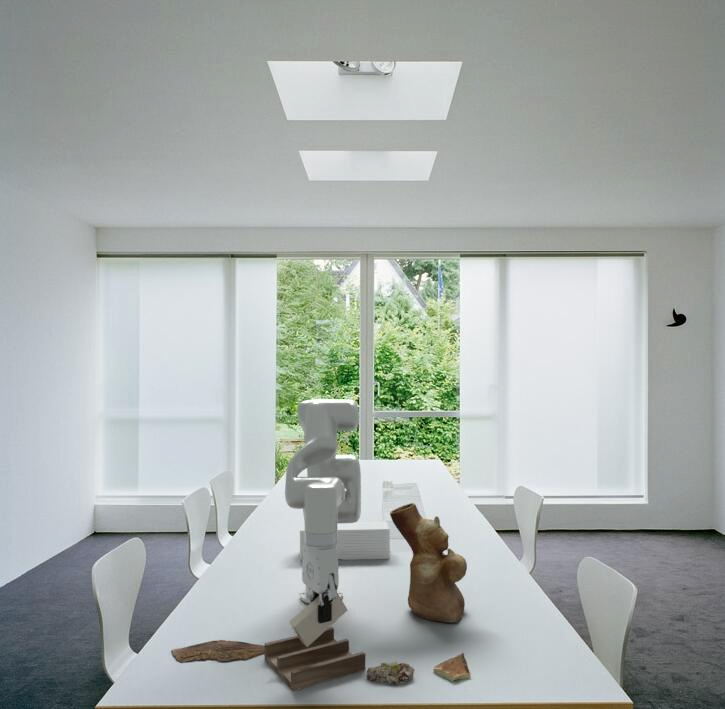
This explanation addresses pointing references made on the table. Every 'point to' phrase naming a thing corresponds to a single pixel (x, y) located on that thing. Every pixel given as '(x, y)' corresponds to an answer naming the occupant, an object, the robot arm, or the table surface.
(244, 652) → the wooden fragment
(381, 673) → the mineral rock
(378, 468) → the table surface
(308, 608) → the strip
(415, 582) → the ceramic vessel
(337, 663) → the walnut rack
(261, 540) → the table surface
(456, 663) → the shard
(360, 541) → the white long block
